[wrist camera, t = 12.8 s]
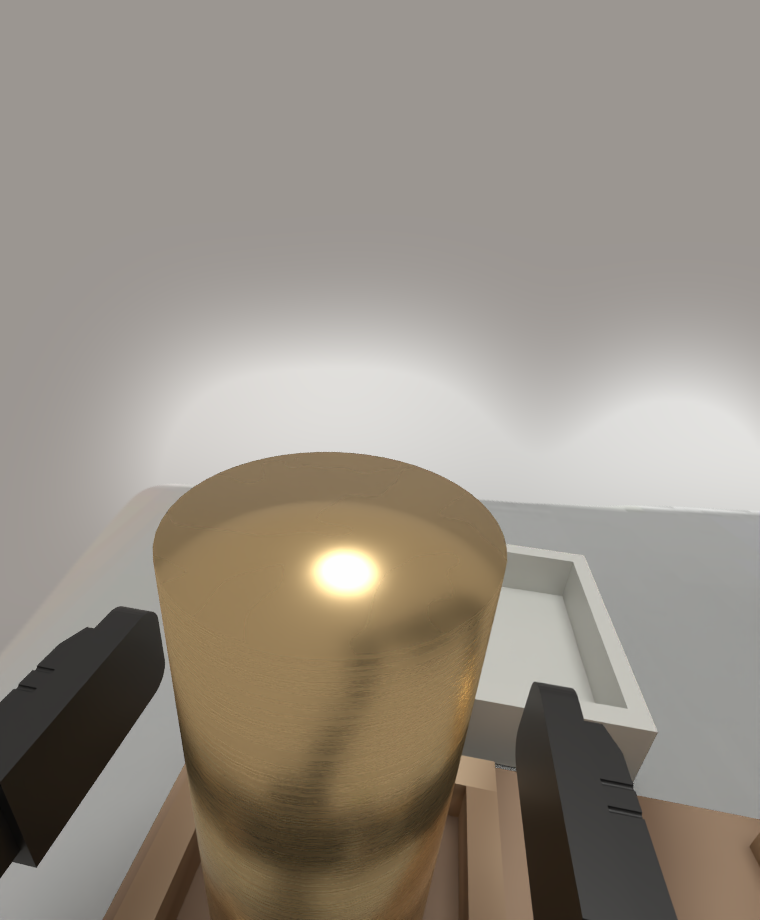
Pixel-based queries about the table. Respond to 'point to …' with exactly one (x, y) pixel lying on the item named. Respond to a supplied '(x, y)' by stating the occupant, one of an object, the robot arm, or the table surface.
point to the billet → (325, 676)
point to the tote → (555, 658)
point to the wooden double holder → (477, 858)
